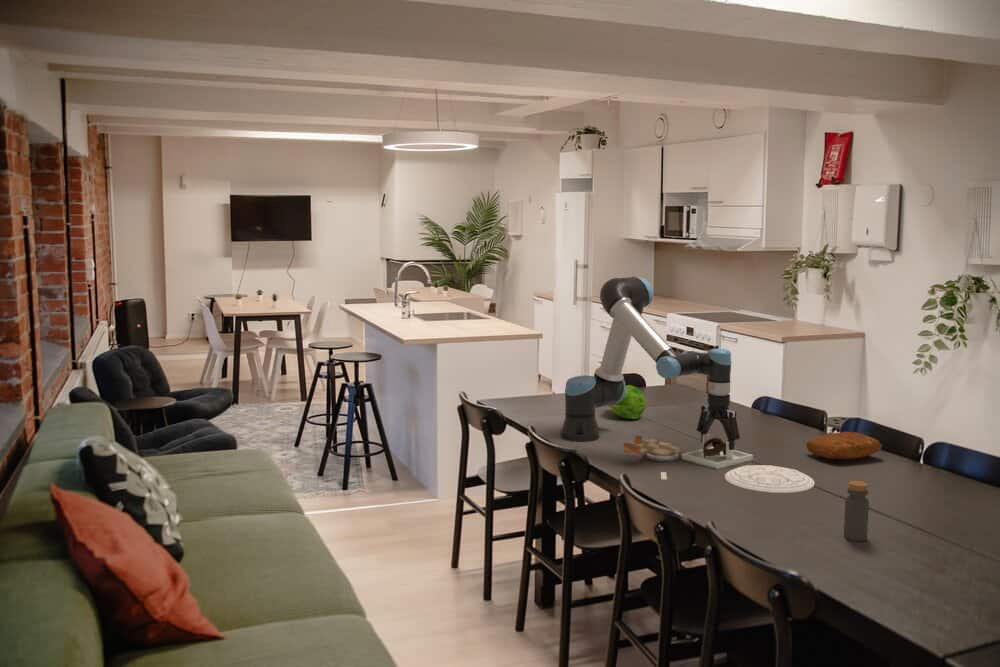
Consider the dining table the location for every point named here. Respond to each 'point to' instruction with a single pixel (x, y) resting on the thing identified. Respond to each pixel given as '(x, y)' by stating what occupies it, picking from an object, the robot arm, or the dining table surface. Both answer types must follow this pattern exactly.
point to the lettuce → (630, 404)
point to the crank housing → (662, 457)
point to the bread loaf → (844, 445)
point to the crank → (650, 447)
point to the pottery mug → (717, 445)
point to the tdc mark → (663, 476)
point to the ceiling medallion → (769, 479)
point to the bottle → (856, 512)
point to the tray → (716, 459)
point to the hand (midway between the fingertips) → (717, 455)
